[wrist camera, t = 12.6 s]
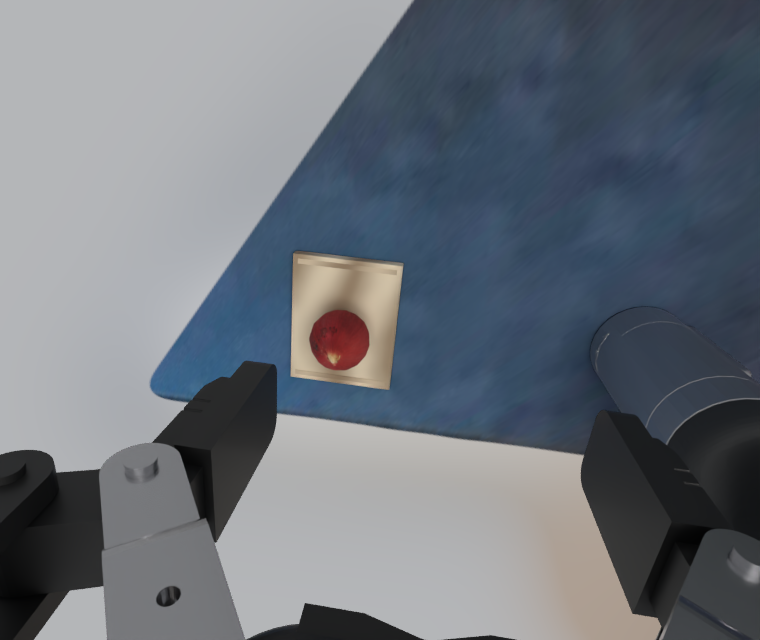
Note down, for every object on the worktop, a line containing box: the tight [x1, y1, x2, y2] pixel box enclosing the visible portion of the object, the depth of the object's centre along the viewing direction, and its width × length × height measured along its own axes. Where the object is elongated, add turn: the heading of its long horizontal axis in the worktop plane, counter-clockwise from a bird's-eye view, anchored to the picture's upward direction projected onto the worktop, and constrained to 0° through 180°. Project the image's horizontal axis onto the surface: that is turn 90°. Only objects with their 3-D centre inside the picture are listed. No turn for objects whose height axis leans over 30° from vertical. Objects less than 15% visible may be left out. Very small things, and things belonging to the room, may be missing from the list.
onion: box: [309, 310, 369, 371], centre depth 46 cm, size 6×6×8 cm
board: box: [291, 251, 404, 390], centre depth 50 cm, size 11×14×1 cm
